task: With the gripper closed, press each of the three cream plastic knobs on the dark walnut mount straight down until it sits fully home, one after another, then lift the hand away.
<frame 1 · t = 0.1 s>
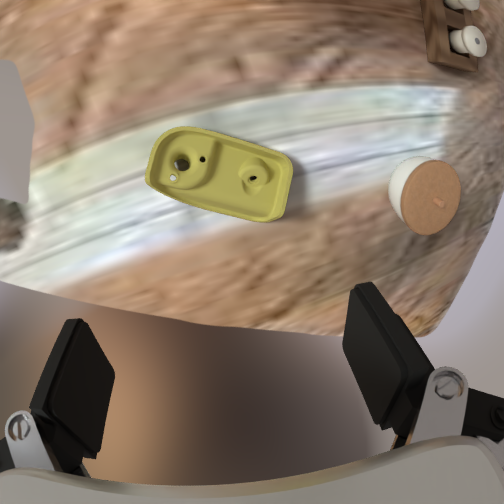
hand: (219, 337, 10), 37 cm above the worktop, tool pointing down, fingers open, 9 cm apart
plastic component: (220, 169, 44), on the worktop
knob 3: (467, 41, 29), point 6 cm above the worktop, slide at 0.0 cm
mount: (438, 1, 30), on the worktop
lidded bowl: (404, 181, 48), on the worktop
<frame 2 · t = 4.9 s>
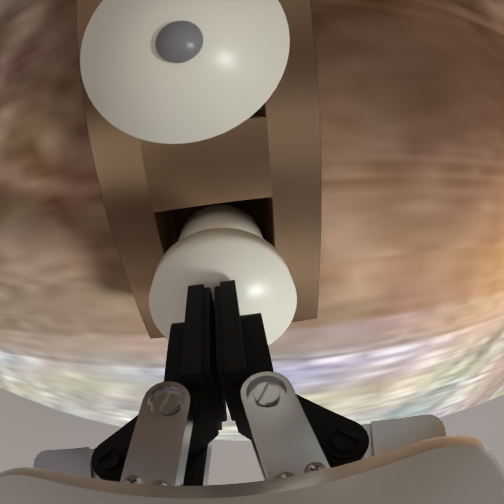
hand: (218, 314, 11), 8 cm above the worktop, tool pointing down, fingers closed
mount: (200, 71, 13), on the worktop
knob 2: (189, 55, 8), point 6 cm above the worktop, slide at 0.0 cm
knob 1: (221, 272, 13), point 5 cm above the worktop, slide at -0.7 cm, touching gripper
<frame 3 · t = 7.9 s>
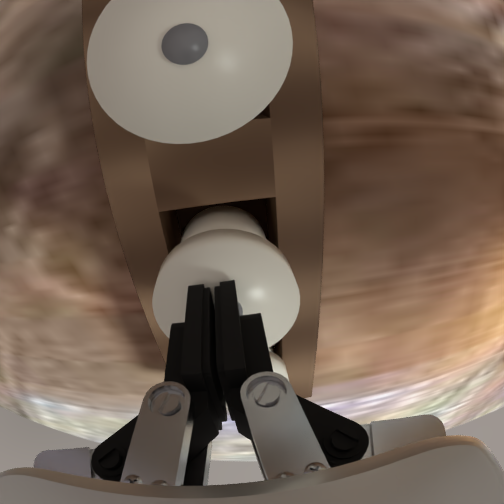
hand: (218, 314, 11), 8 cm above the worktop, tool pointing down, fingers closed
knob 3: (193, 56, 8), point 6 cm above the worktop, slide at 0.0 cm
mount: (222, 222, 18), on the worktop
knob 2: (224, 273, 13), point 6 cm above the worktop, slide at -0.6 cm, touching gripper
knob 1: (242, 360, 20), point 3 cm above the worktop, slide at -3.1 cm
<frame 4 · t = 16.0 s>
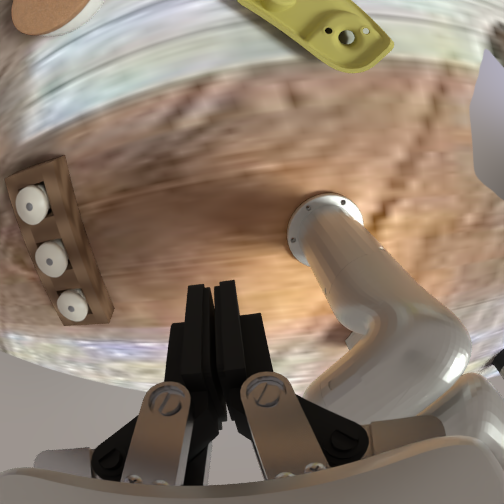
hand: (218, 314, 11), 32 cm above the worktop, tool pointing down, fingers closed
plastic component: (307, 15, 30), on the worktop
knob 3: (37, 200, 35), point 3 cm above the worktop, slide at -3.1 cm
mount: (63, 244, 42), on the worktop
lidded bowl: (79, 4, 25), on the worktop
knob 2: (56, 253, 39), point 3 cm above the worktop, slide at -3.1 cm
product box: (362, 332, 60), on the worktop
knob 1: (76, 299, 44), point 3 cm above the worktop, slide at -3.1 cm
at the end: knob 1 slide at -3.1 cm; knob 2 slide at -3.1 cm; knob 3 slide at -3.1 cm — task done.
